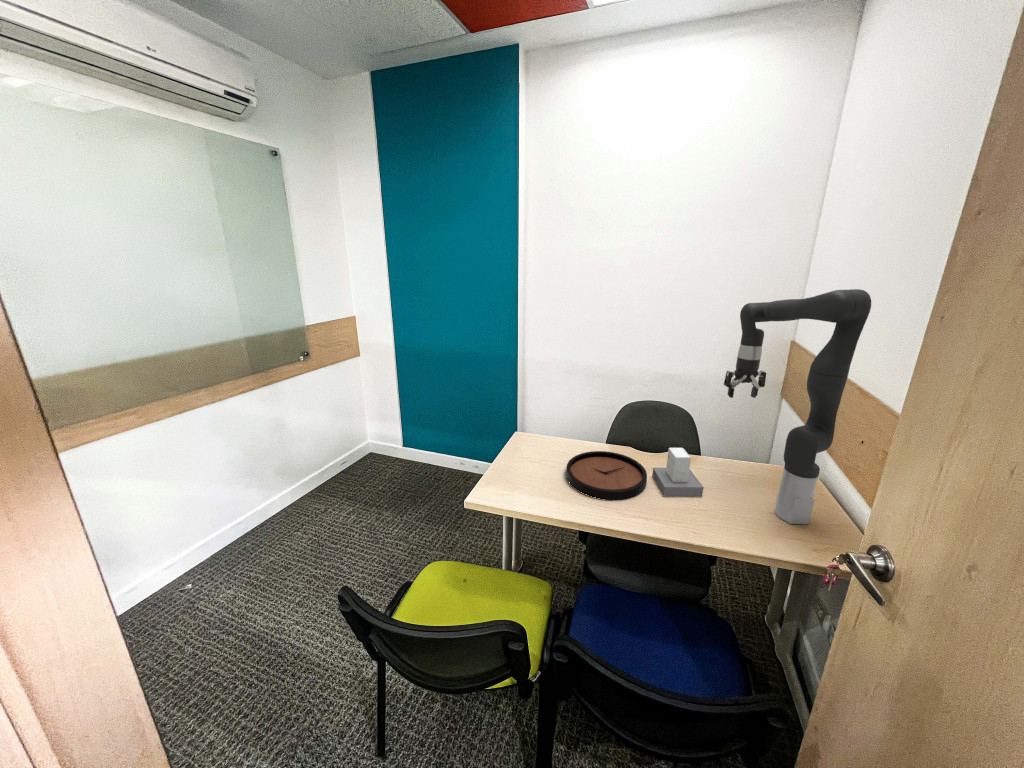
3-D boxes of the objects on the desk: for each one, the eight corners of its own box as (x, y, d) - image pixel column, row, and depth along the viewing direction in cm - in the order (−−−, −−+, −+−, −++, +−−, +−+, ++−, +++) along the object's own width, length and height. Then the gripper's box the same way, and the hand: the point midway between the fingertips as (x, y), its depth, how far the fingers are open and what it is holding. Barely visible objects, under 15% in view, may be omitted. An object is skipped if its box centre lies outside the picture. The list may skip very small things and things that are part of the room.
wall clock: (567, 489, 146) (565, 449, 175) (567, 499, 147) (565, 457, 176) (655, 493, 142) (638, 452, 172) (654, 503, 144) (637, 460, 173)
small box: (687, 482, 148) (691, 457, 145) (672, 482, 148) (675, 457, 145) (680, 471, 156) (683, 447, 153) (665, 471, 156) (668, 447, 153)
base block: (702, 496, 146) (703, 487, 145) (663, 496, 147) (664, 487, 146) (687, 476, 160) (688, 467, 159) (652, 476, 160) (653, 467, 159)
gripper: (734, 359, 145) (727, 400, 150) (774, 359, 145) (766, 400, 150) (724, 354, 152) (718, 394, 158) (762, 354, 152) (755, 393, 157)
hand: (741, 397), depth 154 cm, fingers open, 8 cm apart
